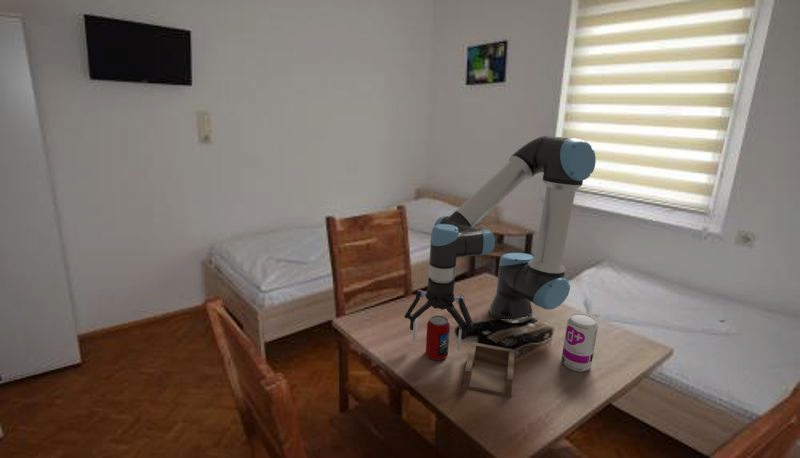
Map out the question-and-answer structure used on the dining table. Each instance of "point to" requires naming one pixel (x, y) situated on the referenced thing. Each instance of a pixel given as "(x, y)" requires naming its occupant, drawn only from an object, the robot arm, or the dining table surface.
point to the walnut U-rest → (490, 369)
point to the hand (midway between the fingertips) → (436, 343)
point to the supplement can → (579, 342)
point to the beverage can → (437, 337)
